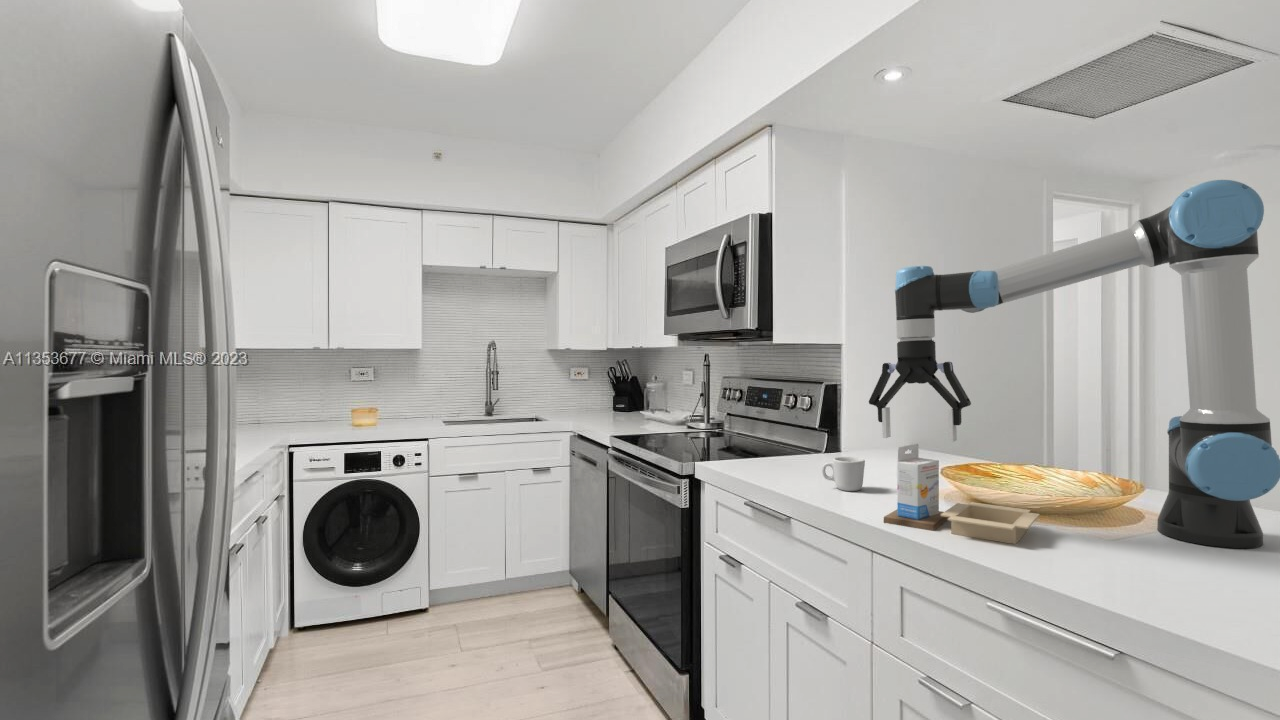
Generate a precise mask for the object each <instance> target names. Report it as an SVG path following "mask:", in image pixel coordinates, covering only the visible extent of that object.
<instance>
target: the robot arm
mask: <svg viewBox="0 0 1280 720" xmlns="http://www.w3.org/2000/svg"><path fill="white" fill-rule="evenodd" d="M1264 214H1265V206H1264V201H1263V200H1262V197H1261V196H1260V195H1259V193H1258V192H1257V191H1256V190H1255V189H1253V188H1252V187H1251V186H1249V185H1247V184H1246V183H1243V182H1240V181H1236V180H1232V179H1214V180H1208V181H1206V182H1202V183H1199V184H1197V185H1195V186H1192V187H1190V188H1188V189H1186V190H1184V191H1183V192H1182V193H1181V194H1180V195H1178V196H1177V198H1175V200H1174V201H1173V203H1172V204H1171V205H1170V206H1168V207H1167V208H1165V209H1163V210H1162V211H1159V212H1156V213H1155V214H1153V215H1151V216H1148V217H1145V218H1142V219H1138V220H1135V221H1134V222H1133V224H1132V226H1131V227H1129V228H1127V229H1124V230H1120V231H1118V232H1117V231H1116V232H1114V233H1111V234H1107V235H1104V236H1101V237H1098V238H1094V239H1091V240H1087V241H1085V242H1081V243H1079V244H1076V245H1072V246H1069V247H1066V248H1061V249H1058V250H1056V251H1053V252H1050V253H1046V254H1043V255H1039V256H1036V257H1033V258H1029V259H1027V260H1023V261H1021V262H1017V263H1014V264H1011V265H1007V266H1003V267H1000V268H997V269H994V270H975V271H968V272H957V273H947V274H935V273H934V268H933V267H931V266H929V265H919V266H917V265H915V266H909V267H908V266H907V267H902V268H900V269H898V270H897V271H896V274H895V288H894V293H895V297H894V298H895V311H896V312H895V313H896V314H895V315H896V339H898V340H899V341H897V343H896V352H897V354H896V355H897V357H896V358H897V363H892V362H884V363H882V369H881V374H880V375H879V376H880V377H879V378H878V380H877V383H876V385H875V387H874V389H873V392H872V393H871V395H870V398H869V400H868V404H869V405H872V406H874V407H876V408H877V420H878V422H879V423H882V439H887V438H891V437H892V436H891V408H890V407H887V405H888V404H889V403H890V402H891V400H893V398H894V397H895V395H896V394H897V393H898V392H899V391H900V390H901V389H902V387H903V386H904V385H905V384H921V385H922V384H927V383H928V385H930V386H931V387H932V388H933V389H934V391H936V393H937V394H939V395H940V397H942V398H943V400H944V401H945V402H946V403H947V404H948V405H949V406H950V408H951V409H948V412H947V413H948V415H947V416H948V442H950V443H954V442H957V441H958V435H957V433H958V432H957V431H958V430H957V426H960V425H961V424H962V409H964V408H967V407H969V406H971V405H972V402H971V400H970V398H969V397H968V395H967V393H966V391H965V389H964V388H963V386H962V384H961V383H960V381H959V379H958V377H957V375H956V373H955V372H954V365H953V362H951V361H945V362H941V363H938V362H937V360H936V357H937V355H936V341H935V340H933V338H935V337H936V334H935V333H936V331H935V330H936V329H935V327H936V326H935V322H936V320H935V312H936V311H950V310H951V311H952V310H953V311H954V310H957V311H958V310H961V311H963V312H966V313H969V314H970V313H971V314H972V313H974V314H975V313H979V312H982V311H984V310H985V309H988V308H994V307H996V306H999V305H1001V304H1005V303H1008V302H1012V301H1016V300H1019V299H1023V298H1028V297H1030V296H1034V295H1037V294H1042V293H1044V292H1048V291H1051V290H1055V289H1059V288H1063V287H1066V286H1071V285H1074V284H1077V283H1080V282H1083V281H1087V280H1088V281H1089V280H1092V279H1095V278H1099V277H1102V276H1105V275H1106V276H1107V275H1109V274H1112V273H1115V272H1120V271H1124V270H1126V269H1131V268H1133V267H1137V266H1142V265H1144V266H1147V267H1149V268H1154V267H1157V266H1161V265H1164V264H1168V265H1169V268H1171V269H1172V270H1173V271H1175V272H1177V273H1178V274H1179V275H1180V278H1181V281H1180V282H1181V293H1182V309H1183V325H1184V338H1185V339H1184V340H1185V351H1186V352H1185V355H1186V368H1187V383H1188V384H1187V385H1188V396H1189V397H1188V399H1189V409H1188V411H1186V412H1185V413H1184V414H1183V415H1177V416H1173V417H1172V418H1170V419H1169V422H1168V429H1167V431H1166V432H1167V435H1168V493H1167V496H1166V498H1165V501H1164V503H1163V506H1162V507H1161V510H1160V512H1159V514H1158V518H1157V525H1156V527H1157V529H1156V530H1157V532H1159V533H1160V534H1161V535H1164V536H1166V537H1169V538H1172V539H1175V540H1180V541H1183V542H1189V543H1193V544H1198V545H1203V546H1204V545H1205V546H1210V547H1221V548H1231V549H1250V548H1251V549H1253V548H1258V547H1259V548H1260V547H1263V544H1264V533H1263V530H1262V527H1261V525H1260V521H1259V519H1258V517H1257V515H1256V513H1255V511H1254V508H1253V506H1252V503H1251V500H1254V499H1257V498H1260V497H1262V496H1264V495H1266V494H1268V493H1270V491H1271V490H1273V489H1274V488H1275V487H1276V486H1277V485H1278V483H1279V481H1280V455H1279V454H1278V453H1277V450H1276V449H1275V448H1274V447H1273V446H1272V444H1273V443H1272V430H1271V419H1270V417H1268V416H1266V415H1265V414H1264V413H1262V412H1261V411H1260V410H1259V409H1258V408H1257V393H1256V381H1255V378H1256V377H1255V367H1254V354H1253V353H1254V352H1253V337H1252V336H1253V335H1252V326H1251V325H1252V323H1251V321H1252V320H1251V307H1250V294H1249V293H1250V292H1249V278H1248V277H1249V276H1248V268H1249V267H1250V266H1251V264H1252V263H1254V262H1255V261H1256V260H1257V259H1259V258H1260V256H1259V255H1260V253H1259V240H1258V230H1259V229H1260V228H1261V227H1260V226H1261V225H1262V223H1263V221H1264V216H1265V215H1264ZM895 370H896V372H897V373H898V374H899V376H898V377H897V378H896V379H895V381H894V382H893V384H892V385H891V386H890V388H888V390H887V391H886V392H885V393H884V395H883V396H882V394H883V392H884V390H885V388H886V386H887V384H888V382H889V380H890V377H891V375H892V374H893V373H894V372H895ZM938 370H940V371H941V373H943V374H944V375H945V378H946V380H947V381H948V384H949V385H950V386H951V389H952V390H953V392H954V394H955V396H956V397H957V398H956V397H955V396H954V395H953V394H952V393H951V391H949V390H948V389H947V388H946V387H945V385H943V383H941V381H940V379H939V378H938V377H937V376H936V375H935V374H936V373H937V371H938ZM881 396H882V397H881ZM957 399H958V400H959V401H958V400H957Z"/></svg>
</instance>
